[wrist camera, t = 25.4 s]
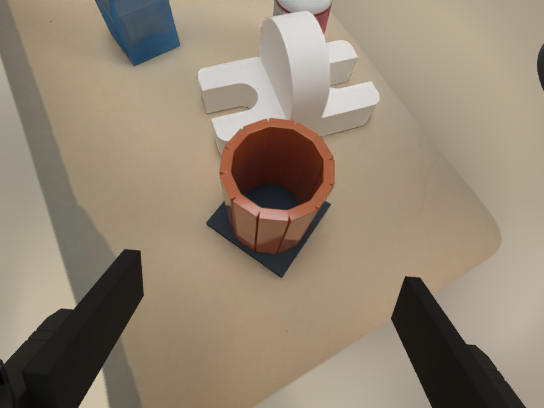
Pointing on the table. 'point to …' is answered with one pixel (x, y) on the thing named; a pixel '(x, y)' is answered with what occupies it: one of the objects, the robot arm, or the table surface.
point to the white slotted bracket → (289, 82)
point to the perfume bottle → (140, 27)
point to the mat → (270, 199)
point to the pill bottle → (305, 9)
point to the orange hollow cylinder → (275, 181)
